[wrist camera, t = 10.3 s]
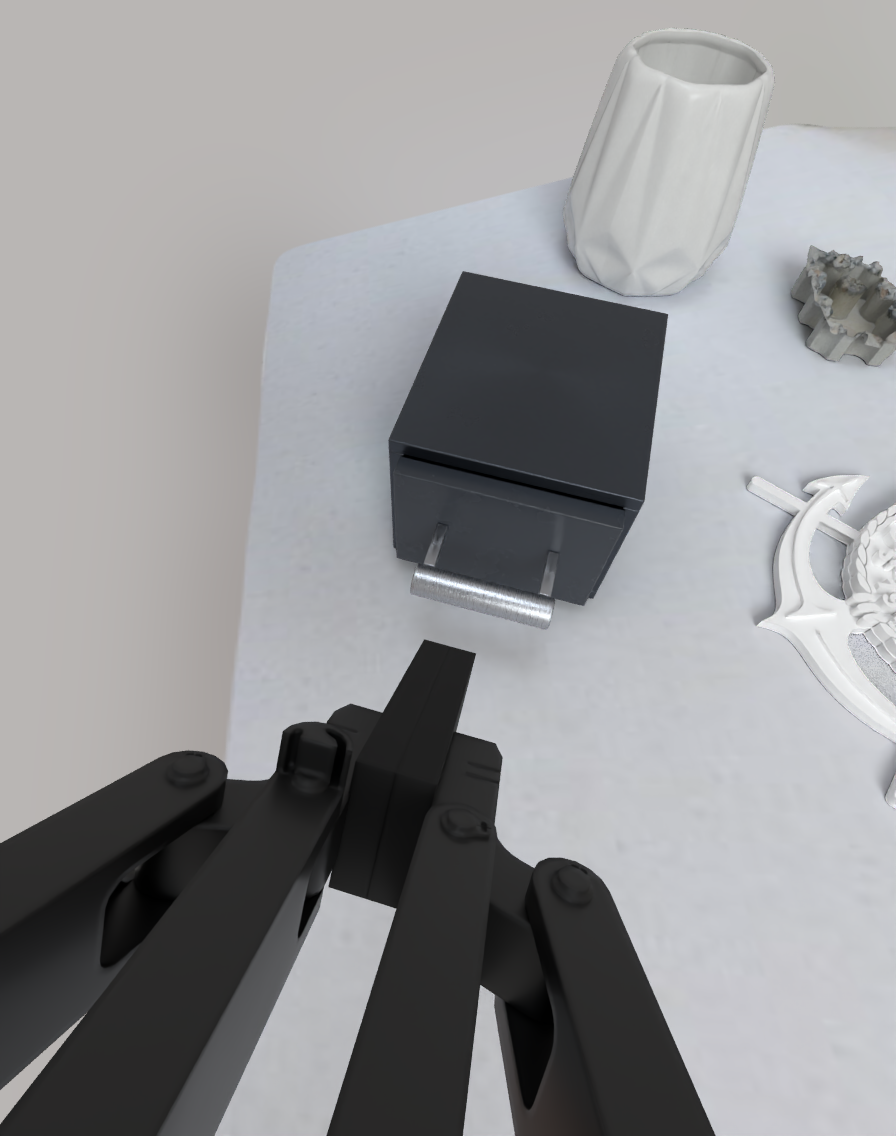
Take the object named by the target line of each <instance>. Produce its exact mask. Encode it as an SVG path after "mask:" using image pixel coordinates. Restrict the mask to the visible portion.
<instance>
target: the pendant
mask: <svg viewBox="0 0 896 1136" xmlns="http://www.w3.org/2000/svg"><path fill="white" fill-rule="evenodd" d="M869 477H870V476H862V475H838V476H830V477H825V478H821V479H817V480H814V481H812V482H810V483H809V484H807V486H806V487H805V488H804V489H803V490H802V491H804V492H807V493H810V494H812V495H814V496H813V497H812V498H811V499H810V500H809V501H808V502H807V503H806V502H804V501H802V500H801V499H799V498H797V497H795V496H793V495H791V494H789V493H788V492H786V491H784V490H782V489H780V488H779V487H777V486H775V485H773V484H771V483H769V482H768V481H766V480H764V479H762V478H760V477H758V476H755V477H753V478H752V480H751V482H750V483H749V484H748V485H747V489H748V490H749V491H750V492H752V493H754V494H756V495H757V496H759V497H761V498H763V499H765V500H766V501H768V502H770V503H772V504H774V505H775V506H777V507H779V508H781V509H783V510H785V511H786V512H788V513H790V514H792V515H793V516H794V518H793V519H792V521H791V522H790V523H789V525H788V526H787V528H786V530H785V531H784V533H783V535H782V536H781V538H780V541H779V543H778V546H777V549H776V552H775V556H774V562H773V581H774V589H775V597H776V608H775V612H774V613H773V615H772V616H771V617H769V618H767V619H765V620H763V621H761V622H760V623H759V624H758V625H757V627H762V628H766V629H770V630H773V631H775V632H778V633H779V634H781V635H783V636H784V637H786V638H787V639H788V640H789V641H790V642H791V643H792V644H793V645H794V646H795V648H796V649H797V650H798V652H799V653H800V654H801V656H802V657H803V659H804V660H805V662H806V663H807V665H808V666H809V668H810V669H811V670H812V672H813V673H814V675H815V676H816V677H817V679H818V680H819V681H820V682H821V684H822V685H823V686H824V687H825V688H826V689H827V691H828V692H829V693H830V694H831V695H832V696H833V697H834V698H835V699H836V700H837V701H838V702H839V703H840V704H841V705H843V706H844V707H845V708H846V709H847V710H848V711H849V712H851V713H852V714H853V715H854V716H856V717H857V718H858V719H859V720H861V721H862V722H863V723H865V724H866V725H868V726H869V727H871V728H872V729H873V730H875V731H877V732H878V733H880V734H882V735H883V736H885V737H886V738H888V739H890V740H891V741H893V742H894V743H896V706H895V705H894V704H893V703H892V702H891V701H890V700H888V699H887V698H886V697H885V696H884V695H883V694H882V693H881V692H880V691H879V690H878V689H877V688H876V687H875V686H874V685H873V684H872V683H871V681H870V680H869V679H868V678H867V677H866V675H865V674H864V673H863V672H862V670H861V669H860V667H859V666H858V664H857V663H856V661H855V659H854V657H853V656H852V654H851V651H850V649H849V647H848V642H847V640H848V637H849V635H850V634H851V633H853V634H864V636H865V637H866V639H867V641H868V642H869V643H870V644H871V645H872V646H873V647H874V648H875V649H876V651H877V653H878V655H879V656H880V657H881V658H882V659H883V660H884V661H885V662H886V663H888V664H889V665H890V667H891V668H892V670H893V671H894V672H895V673H896V502H895V503H894V504H893V505H892V506H891V507H889V508H888V509H887V510H886V511H883V512H880V513H879V514H878V515H877V516H876V517H874V518H872V519H871V520H870V521H869V522H868V523H867V524H865V525H864V526H863V528H862V529H861V530H860V531H858V530H856V529H854V528H852V527H850V526H848V525H846V524H845V523H843V522H841V521H839V520H837V519H835V518H834V517H832V516H830V515H828V514H827V513H828V511H829V510H831V509H832V508H833V509H835V510H836V511H837V512H838V513H839V514H840V515H841V516H842V515H843V514H844V513H845V512H846V511H847V510H848V508H849V506H850V504H851V501H852V499H853V497H854V495H855V494H856V492H857V491H858V489H859V488H860V487H861V485H862V484H863V483H864V482H865V481H866V480H867V479H868V478H869ZM816 528H817V529H819V530H820V531H822V532H824V533H826V534H828V535H829V536H831V537H833V538H835V539H837V540H838V541H840V542H842V543H844V544H846V545H847V549H846V557H845V558H844V561H843V566H844V568H843V569H842V571H841V577H842V580H843V585H842V589H843V592H844V595H845V600H840V599H837V598H835V597H833V596H832V595H830V594H829V593H827V592H826V591H825V590H824V589H823V588H822V587H821V586H820V585H819V583H818V582H817V581H816V579H815V577H814V575H813V573H812V570H811V566H810V562H809V548H810V543H811V540H812V537H813V535H814V532H815V530H816ZM885 799H886V801H887V803H888V804H889V805H890V806H891V807H893V808H895V809H896V773H895V775H894V778H893V780H892V782H891V785H890V787H889V789H888V791H887V794H886V797H885Z"/></svg>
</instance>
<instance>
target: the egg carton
mask: <svg viewBox="0 0 896 1136" xmlns="http://www.w3.org/2000/svg"><path fill="white" fill-rule="evenodd" d="M862 261H863V256H858V257H855V258H852V257H850V256H849V255H847V254H838V253H836V252H835V251H834V250H833V251H831V252H829V253H826V252H824V251H821V250H819V249H818V248H816V247H814V246H812V245H811V246H810V249H809V253H808V259H807V266H806V267H805V268H804V269H803V271H802V272H801V274H800V276H799V278H798V279H797V281H796V283H795V284H794V286H793V288H792V290H791V295H792V297H793V298H794V299H798V300H799V301H801V302H803V303H805V305H804V306H803V308H802V310H801V311H800V313H799V315H798V319H799V322H800V323H803V324H806V325H809V326H810V327H811V328H813V329H814V330H813V331H812V333H811V334H810V336H809V337H808V339H807V341H806V345H807V347H808V348H810V349H812V350H814V351H815V352H818V353H820V354H821V355H822V356H823V357H825V359H827V360H833V361H839V360H840V358H841V357H842V355H843V354H850V355H856V356H858V357H860V358H862V359H863V360H864V361H865V362H866V364H867V365H873V366H879V365H880V364H881V363H882V362H883V361H884V360H885V358H888V357H889V356H890V355H891V354H892V353H893V352H894V351H895V350H896V287H895V286H894V285H893V284H892V283H890V282H889V281H888V280H887V278H883V277H881V273H882V271H883V268H882V266H881V265H879V262H877V261H876V262H873V263H872V264H870V265H867V264H863V263H862Z"/></svg>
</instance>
